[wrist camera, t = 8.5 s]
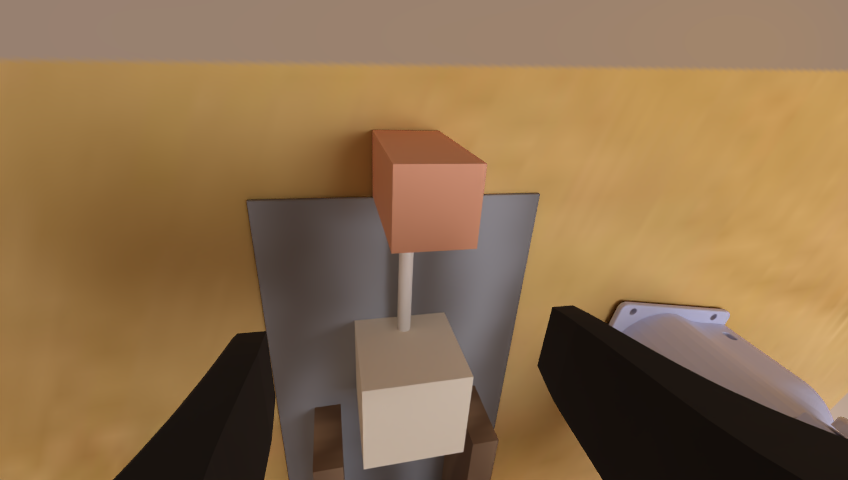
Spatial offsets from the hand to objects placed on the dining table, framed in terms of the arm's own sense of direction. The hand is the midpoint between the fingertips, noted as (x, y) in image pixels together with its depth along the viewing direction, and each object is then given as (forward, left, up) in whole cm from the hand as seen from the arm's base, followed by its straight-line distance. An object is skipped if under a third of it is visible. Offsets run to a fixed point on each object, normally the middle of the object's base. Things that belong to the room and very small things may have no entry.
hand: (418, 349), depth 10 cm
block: (-2, +4, -10) cm, 11 cm away
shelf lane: (-3, +12, -10) cm, 16 cm away
